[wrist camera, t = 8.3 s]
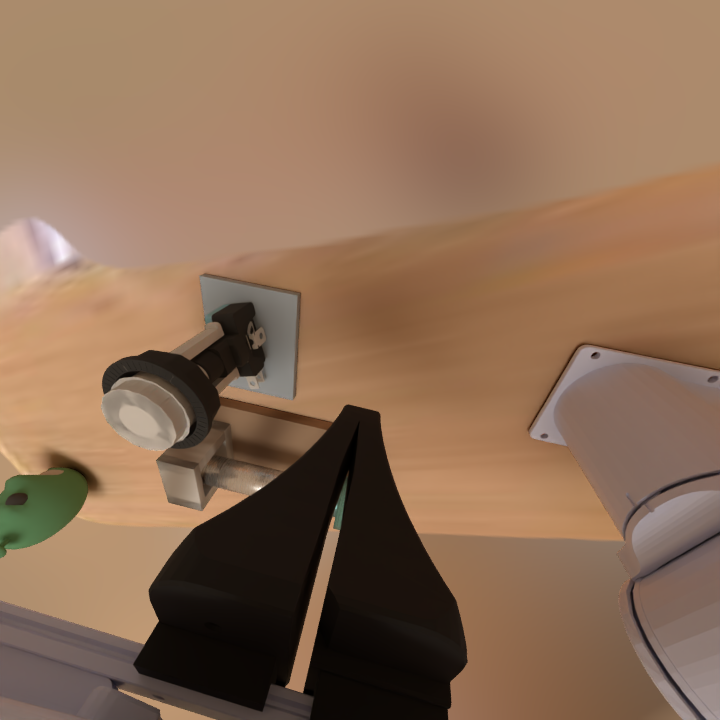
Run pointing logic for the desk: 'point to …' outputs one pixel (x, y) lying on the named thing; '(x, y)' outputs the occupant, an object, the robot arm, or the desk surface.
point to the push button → (183, 381)
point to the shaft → (251, 479)
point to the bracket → (238, 447)
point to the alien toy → (39, 506)
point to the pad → (277, 320)
